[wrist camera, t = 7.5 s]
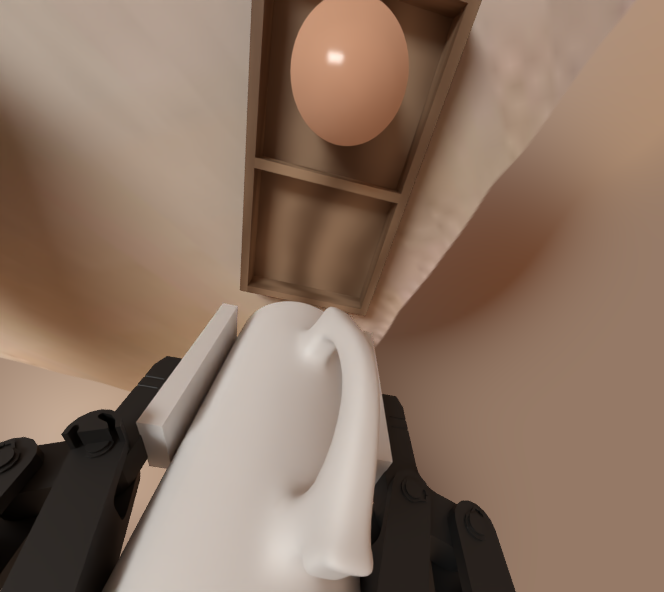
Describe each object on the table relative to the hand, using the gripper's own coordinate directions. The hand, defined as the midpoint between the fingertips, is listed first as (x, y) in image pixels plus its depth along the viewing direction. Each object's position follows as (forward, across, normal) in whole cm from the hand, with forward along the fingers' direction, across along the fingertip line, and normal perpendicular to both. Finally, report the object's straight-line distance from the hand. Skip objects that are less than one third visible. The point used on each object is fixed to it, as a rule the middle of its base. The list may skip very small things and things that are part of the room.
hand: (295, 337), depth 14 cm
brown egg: (+16, 0, +13) cm, 20 cm away
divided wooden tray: (+17, 0, +6) cm, 18 cm away
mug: (+1, 0, 0) cm, 2 cm away
